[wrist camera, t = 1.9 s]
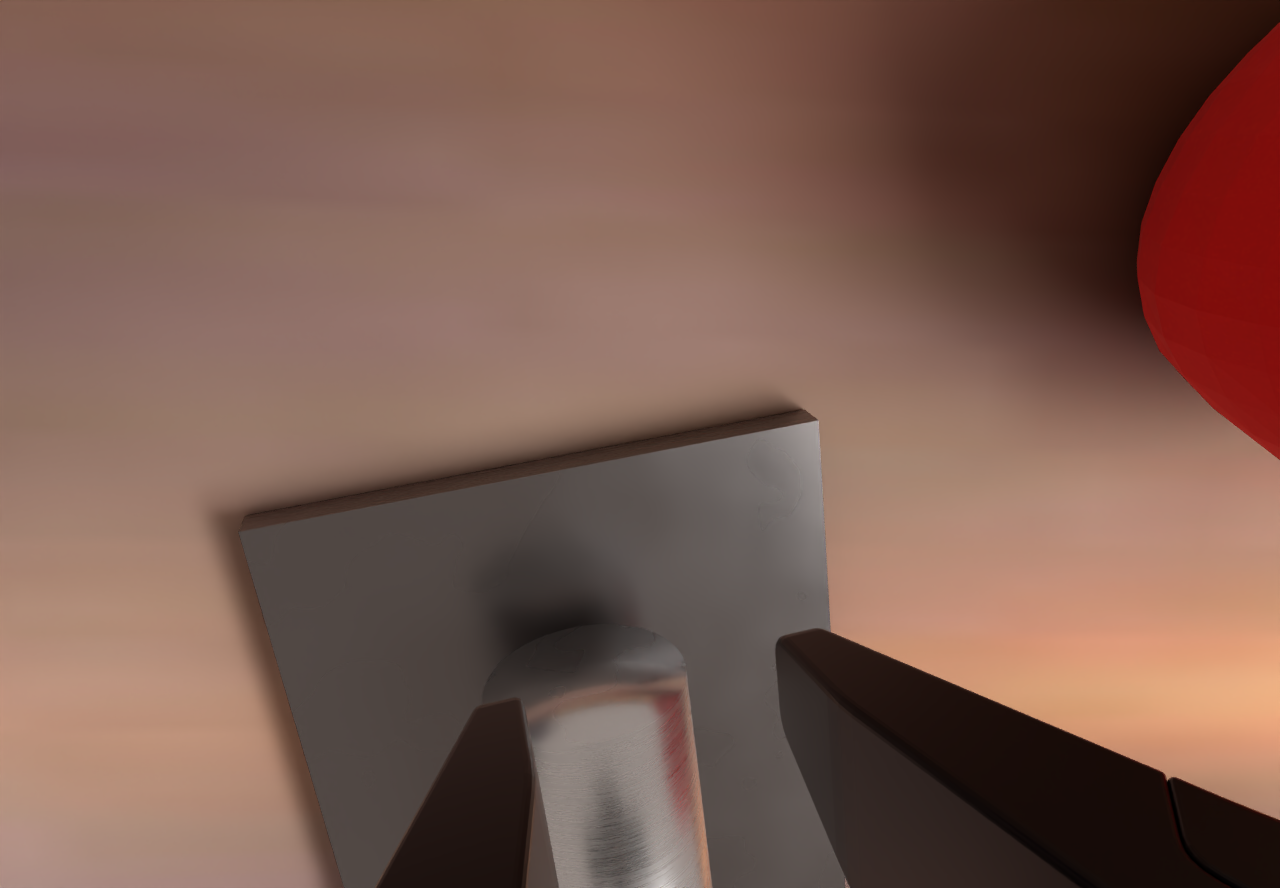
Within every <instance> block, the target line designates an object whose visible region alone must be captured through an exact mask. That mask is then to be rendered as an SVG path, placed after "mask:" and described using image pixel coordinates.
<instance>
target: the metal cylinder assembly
mask: <svg viewBox="0 0 1280 888" xmlns="http://www.w3.org/2000/svg"><path fill="white" fill-rule="evenodd" d="M238 533H239V536H240V539H241V543H242V546H243V549H244V553H245V556H246V559H247V563H248V566H249V570H250V573H251V576H252V580H253V583H254V586H255V590H256V593H257V597H258V600H259V603H260V607H261V610H262V613H263V617H264V620H265V623H266V627H267V630H268V634H269V637H270V640H271V644H272V647H273V650H274V654H275V657H276V661H277V664H278V667H279V671H280V674H281V677H282V681H283V684H284V687H285V691H286V694H287V698H288V701H289V704H290V708H291V711H292V714H293V718H294V721H295V724H296V728H297V731H298V735H299V738H300V741H301V745H302V748H303V751H304V755H305V758H306V762H307V765H308V768H309V772H310V775H311V778H312V782H313V785H314V788H315V792H316V795H317V799H318V802H319V805H320V809H321V812H322V815H323V819H324V822H325V826H326V829H327V832H328V836H329V839H330V842H331V846H332V849H333V852H334V856H335V859H336V863H337V866H338V869H339V873H340V876H341V879H342V883H343V886H344V888H375V886H376V884H377V882H378V881H379V879H380V877H381V875H382V873H383V872H384V870H385V868H386V866H387V864H388V863H389V861H390V859H391V857H392V855H393V854H394V852H395V850H396V848H397V847H398V845H399V843H400V841H401V839H402V838H403V836H404V834H405V832H406V830H407V829H408V827H409V825H410V823H411V821H412V820H413V818H414V816H415V814H416V812H417V811H418V809H419V807H420V805H421V803H422V802H423V800H424V798H425V796H426V794H427V793H428V791H429V789H430V787H431V786H432V784H433V782H434V780H435V778H436V777H437V775H438V773H439V771H440V769H441V768H442V766H443V764H444V762H445V760H446V759H447V757H448V755H449V753H450V751H451V750H452V748H453V746H454V744H455V742H456V741H457V739H458V737H459V735H460V733H461V732H462V730H463V728H464V726H465V724H466V723H467V721H468V719H469V717H470V716H471V714H472V712H473V710H474V709H475V708H476V707H478V706H479V705H483V704H482V694H483V690H484V686H485V684H486V682H487V679H488V678H489V676H490V675H491V673H492V671H493V670H494V669H495V668H496V667H497V666H498V664H499V663H501V662H502V661H503V660H504V659H505V658H506V657H507V656H509V655H510V654H511V653H513V652H514V651H515V650H517V649H519V648H520V647H522V646H524V645H525V644H527V643H529V642H531V641H533V640H535V639H538V638H540V637H543V636H545V635H548V634H551V633H554V632H557V631H561V630H564V629H568V628H573V627H579V626H586V625H596V624H618V625H627V626H633V627H638V628H642V629H646V630H649V631H651V632H654V633H656V634H659V635H660V636H662V637H664V638H666V639H667V640H669V641H670V642H671V643H672V644H674V645H675V647H676V648H677V649H678V650H679V651H680V653H681V654H682V656H683V658H684V661H685V664H686V672H687V680H688V688H689V697H690V705H691V713H692V722H693V730H694V738H695V747H696V755H697V763H698V771H699V780H700V788H701V796H702V805H703V813H704V821H705V830H706V838H707V846H708V854H709V863H710V871H711V879H712V888H845V877H844V873H843V871H842V869H841V867H840V864H839V862H838V860H837V858H836V855H835V853H834V850H833V848H832V846H831V843H830V841H829V839H828V836H827V834H826V831H825V829H824V827H823V824H822V822H821V820H820V817H819V815H818V812H817V810H816V808H815V805H814V803H813V801H812V798H811V796H810V793H809V791H808V789H807V786H806V784H805V782H804V779H803V777H802V774H801V772H800V770H799V767H798V765H797V763H796V760H795V758H794V755H793V753H792V751H791V748H790V746H789V744H788V741H787V739H786V736H785V733H784V729H783V725H782V721H781V716H780V707H779V695H778V682H777V670H776V658H775V647H776V642H777V640H778V639H779V638H780V637H781V636H783V635H787V634H791V633H795V632H800V631H804V630H808V629H812V628H821V629H824V630H827V631H829V632H831V630H830V613H829V595H828V578H827V560H826V542H825V525H824V507H823V490H822V472H821V455H820V437H819V420H817V419H816V418H815V417H813V416H812V415H811V414H810V413H808V412H807V411H806V410H800V411H795V412H790V413H784V414H779V415H774V416H769V417H763V418H758V419H753V420H748V421H742V422H737V423H732V424H726V425H721V426H716V427H711V428H705V429H700V430H695V431H690V432H684V433H679V434H674V435H668V436H663V437H658V438H653V439H647V440H642V441H637V442H632V443H626V444H621V445H616V446H611V447H605V448H600V449H595V450H589V451H584V452H579V453H574V454H568V455H563V456H558V457H553V458H547V459H542V460H537V461H532V462H526V463H521V464H516V465H510V466H505V467H500V468H495V469H489V470H484V471H479V472H474V473H468V474H463V475H458V476H453V477H447V478H442V479H437V480H431V481H426V482H421V483H416V484H410V485H405V486H400V487H395V488H389V489H384V490H379V491H374V492H368V493H363V494H358V495H352V496H347V497H342V498H337V499H331V500H326V501H321V502H316V503H310V504H305V505H300V506H295V507H289V508H284V509H279V510H273V511H268V512H263V513H258V514H252V515H247V516H245V517H244V520H243V522H242V525H241V527H240V529H239V532H238Z"/></svg>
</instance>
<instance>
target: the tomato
mask: <svg viewBox="0 0 1280 888" xmlns="http://www.w3.org/2000/svg"><path fill="white" fill-rule="evenodd" d="M1137 278H1138V284H1139V289H1140V295H1141V301H1142V307H1143V313H1144V317H1145V319H1146V321H1147V324H1148V326H1149V328H1150V330H1151V333H1152V335H1153V337H1154V340H1155V342H1156V344H1157V346H1158V349H1159V351H1160V352H1161V353H1162V354H1163V355H1164V356H1165V357H1166V359H1167V360H1168V361H1169V362H1170V363H1171V364H1172V365H1173V366H1174V367H1175V368H1176V370H1177V371H1178V372H1179V373H1180V374H1181V375H1182V376H1183V377H1184V378H1185V379H1186V381H1187V382H1188V383H1189V384H1190V385H1191V386H1192V387H1193V388H1194V389H1195V390H1196V391H1197V392H1198V393H1199V394H1200V395H1201V396H1202V397H1203V398H1204V399H1205V400H1206V401H1207V402H1208V403H1209V404H1210V405H1211V407H1212V408H1213V409H1215V410H1216V411H1217V412H1219V413H1220V414H1221V415H1223V416H1224V417H1225V418H1226V419H1228V420H1229V421H1230V422H1232V423H1233V424H1234V425H1235V426H1237V427H1238V428H1239V429H1241V430H1242V431H1243V432H1244V433H1246V434H1247V435H1248V436H1250V437H1251V438H1252V439H1253V440H1255V441H1256V442H1257V443H1259V444H1260V445H1261V446H1262V447H1264V448H1265V449H1266V450H1268V451H1269V452H1270V453H1271V454H1273V455H1274V456H1275V457H1277V458H1278V459H1279V460H1280V22H1279V23H1278V24H1277V25H1276V26H1275V27H1274V28H1273V29H1272V30H1271V31H1270V32H1269V33H1268V34H1267V35H1266V36H1265V37H1264V38H1263V39H1262V40H1261V41H1260V42H1259V43H1258V44H1257V45H1256V46H1255V47H1253V48H1252V49H1251V50H1250V51H1249V52H1248V53H1247V54H1246V55H1245V57H1244V58H1243V59H1242V60H1241V61H1240V62H1239V63H1238V64H1237V65H1236V67H1235V68H1234V69H1233V70H1232V71H1231V72H1230V73H1229V74H1228V75H1227V77H1226V78H1225V79H1224V80H1223V81H1222V82H1221V83H1220V84H1219V86H1218V87H1217V88H1216V89H1215V90H1214V91H1213V92H1212V93H1211V94H1210V96H1209V97H1208V98H1207V100H1206V101H1205V102H1204V104H1203V105H1202V107H1201V108H1200V109H1199V111H1198V112H1197V114H1196V115H1195V117H1194V118H1193V119H1192V121H1191V122H1190V124H1189V125H1188V126H1187V128H1186V129H1185V131H1184V132H1183V133H1182V135H1181V136H1180V138H1179V139H1178V141H1177V143H1176V145H1175V147H1174V148H1173V150H1172V152H1171V154H1170V156H1169V158H1168V160H1167V162H1166V164H1165V165H1164V167H1163V169H1162V171H1161V173H1160V175H1159V177H1158V179H1157V181H1156V183H1155V185H1154V188H1153V191H1152V194H1151V197H1150V200H1149V203H1148V205H1147V208H1146V211H1145V214H1144V217H1143V220H1142V223H1141V231H1140V239H1139V247H1138V255H1137Z"/></svg>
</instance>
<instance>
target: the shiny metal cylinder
mask: <svg viewBox="0 0 1280 888" xmlns="http://www.w3.org/2000/svg"><path fill="white" fill-rule="evenodd" d="M513 697H517V698H520V699H521V700H522V701H523V702H524V705H525V710H526V715H527V720H528V725H529V731H530V736H531V741H532V746H533V751H534V756H535V761H536V766H537V772H538V777H539V782H540V787H541V792H542V798H543V803H544V809H545V814H546V819H547V825H548V830H549V836H550V841H551V846H552V852H553V857H554V862H555V868H556V873H557V879H558V884H559V888H712V879H711V871H710V863H709V854H708V846H707V838H706V830H705V821H704V813H703V805H702V796H701V788H700V780H699V771H698V763H697V755H696V747H695V738H694V730H693V722H692V713H691V705H690V697H689V688H688V680H687V672H686V664H685V661H684V658H683V656H682V654H681V653H680V651H679V650H678V649H677V648H676V647H675V645H674V644H672V643H671V642H670V641H669V640H667V639H666V638H664V637H662V636H660V635H659V634H656V633H654V632H651V631H649V630H646V629H642V628H638V627H633V626H627V625H618V624H596V625H586V626H579V627H573V628H568V629H564V630H561V631H557V632H554V633H551V634H548V635H545V636H543V637H540V638H538V639H535V640H533V641H531V642H529V643H527V644H525V645H524V646H522V647H520V648H519V649H517V650H515V651H514V652H513V653H511V654H510V655H509V656H507V657H506V658H505V659H504V660H503V661H502V662H501V663H499V664H498V666H497V667H496V668H495V669H494V670H493V671H492V673H491V675H490V676H489V678H488V679H487V682H486V684H485V686H484V690H483V694H482V704H487V703H491V702H496V701H500V700H504V699H509V698H513Z"/></svg>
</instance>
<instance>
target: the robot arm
mask: <svg viewBox="0 0 1280 888" xmlns="http://www.w3.org/2000/svg"><path fill="white" fill-rule="evenodd" d="M775 658H776V670H777V682H778V695H779V707H780V716H781V721H782V725H783V729H784V733H785V736H786V739H787V741H788V744H789V746H790V748H791V751H792V753H793V755H794V758H795V760H796V763H797V765H798V767H799V770H800V772H801V774H802V777H803V779H804V782H805V784H806V786H807V789H808V791H809V793H810V796H811V798H812V801H813V803H814V805H815V808H816V810H817V812H818V815H819V817H820V820H821V822H822V824H823V827H824V829H825V831H826V834H827V836H828V839H829V841H830V843H831V846H832V848H833V850H834V853H835V855H836V858H837V860H838V862H839V864H840V867H841V869H842V871H843V873H844V876H845V878H846V880H847V882H848V885H849V887H850V888H1280V820H1278V819H1276V818H1273V817H1271V816H1268V815H1266V814H1263V813H1261V812H1259V811H1256V810H1254V809H1251V808H1249V807H1246V806H1244V805H1241V804H1239V803H1236V802H1234V801H1231V800H1229V799H1226V798H1224V797H1221V796H1219V795H1216V794H1214V793H1212V792H1209V791H1207V790H1205V789H1202V788H1200V787H1197V786H1195V785H1193V784H1190V783H1188V782H1186V781H1183V780H1181V779H1179V778H1176V777H1171V778H1169V780H1168V782H1167V778H1166V776H1165V774H1164V773H1163V772H1161V771H1159V770H1156V769H1154V768H1152V767H1149V766H1147V765H1145V764H1142V763H1140V762H1138V761H1135V760H1133V759H1130V758H1128V757H1126V756H1123V755H1121V754H1119V753H1116V752H1114V751H1111V750H1109V749H1107V748H1104V747H1102V746H1100V745H1097V744H1095V743H1092V742H1090V741H1088V740H1085V739H1083V738H1081V737H1078V736H1076V735H1073V734H1071V733H1069V732H1066V731H1064V730H1062V729H1059V728H1057V727H1054V726H1052V725H1050V724H1047V723H1045V722H1043V721H1040V720H1038V719H1035V718H1033V717H1031V716H1028V715H1026V714H1024V713H1021V712H1019V711H1017V710H1014V709H1012V708H1009V707H1007V706H1005V705H1002V704H1000V703H998V702H995V701H993V700H990V699H988V698H986V697H983V696H981V695H979V694H976V693H974V692H971V691H969V690H967V689H964V688H962V687H960V686H957V685H955V684H952V683H950V682H948V681H945V680H943V679H941V678H938V677H936V676H933V675H931V674H929V673H926V672H924V671H922V670H919V669H917V668H915V667H912V666H910V665H907V664H905V663H903V662H900V661H898V660H896V659H893V658H891V657H888V656H886V655H884V654H881V653H879V652H877V651H874V650H872V649H869V648H867V647H865V646H862V645H860V644H858V643H855V642H853V641H850V640H848V639H846V638H843V637H841V636H839V635H836V634H834V633H831V632H829V631H827V630H824V629H821V628H812V629H808V630H804V631H800V632H795V633H791V634H787V635H783V636H781V637H780V638H779V639H778V640H777V642H776V647H775ZM375 888H559V884H558V879H557V873H556V868H555V862H554V857H553V852H552V846H551V841H550V836H549V830H548V825H547V819H546V814H545V809H544V803H543V798H542V792H541V787H540V782H539V777H538V772H537V766H536V761H535V756H534V751H533V746H532V741H531V736H530V731H529V725H528V720H527V715H526V710H525V705H524V702H523V701H522V700H521V699H520V698H517V697H513V698H509V699H504V700H500V701H496V702H491V703H487V704H483V705H479V706H478V707H476V708H475V709H474V710H473V712H472V714H471V716H470V717H469V719H468V721H467V723H466V724H465V726H464V728H463V730H462V732H461V733H460V735H459V737H458V739H457V741H456V742H455V744H454V746H453V748H452V750H451V751H450V753H449V755H448V757H447V759H446V760H445V762H444V764H443V766H442V768H441V769H440V771H439V773H438V775H437V777H436V778H435V780H434V782H433V784H432V786H431V787H430V789H429V791H428V793H427V794H426V796H425V798H424V800H423V802H422V803H421V805H420V807H419V809H418V811H417V812H416V814H415V816H414V818H413V820H412V821H411V823H410V825H409V827H408V829H407V830H406V832H405V834H404V836H403V838H402V839H401V841H400V843H399V845H398V847H397V848H396V850H395V852H394V854H393V855H392V857H391V859H390V861H389V863H388V864H387V866H386V868H385V870H384V872H383V873H382V875H381V877H380V879H379V881H378V882H377V884H376V886H375Z"/></svg>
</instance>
